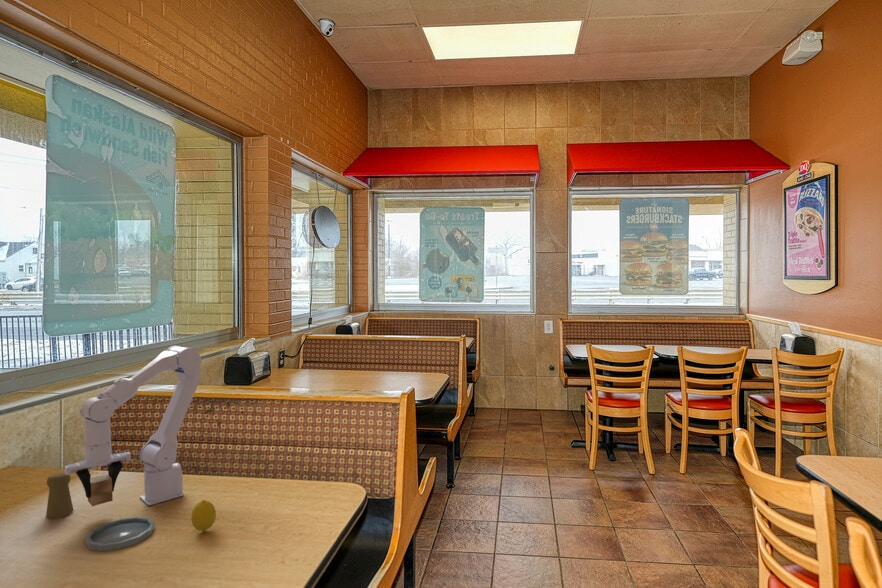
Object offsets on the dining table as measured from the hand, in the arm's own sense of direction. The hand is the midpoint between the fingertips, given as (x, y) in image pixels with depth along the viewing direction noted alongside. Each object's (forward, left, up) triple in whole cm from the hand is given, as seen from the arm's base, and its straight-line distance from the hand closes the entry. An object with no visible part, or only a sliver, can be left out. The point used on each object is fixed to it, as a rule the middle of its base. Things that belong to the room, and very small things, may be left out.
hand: (99, 493), depth 137 cm
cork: (+7, -11, -7) cm, 15 cm away
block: (0, 0, -2) cm, 2 cm away
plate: (-1, +15, -6) cm, 16 cm away
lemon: (-16, +28, -7) cm, 33 cm away
